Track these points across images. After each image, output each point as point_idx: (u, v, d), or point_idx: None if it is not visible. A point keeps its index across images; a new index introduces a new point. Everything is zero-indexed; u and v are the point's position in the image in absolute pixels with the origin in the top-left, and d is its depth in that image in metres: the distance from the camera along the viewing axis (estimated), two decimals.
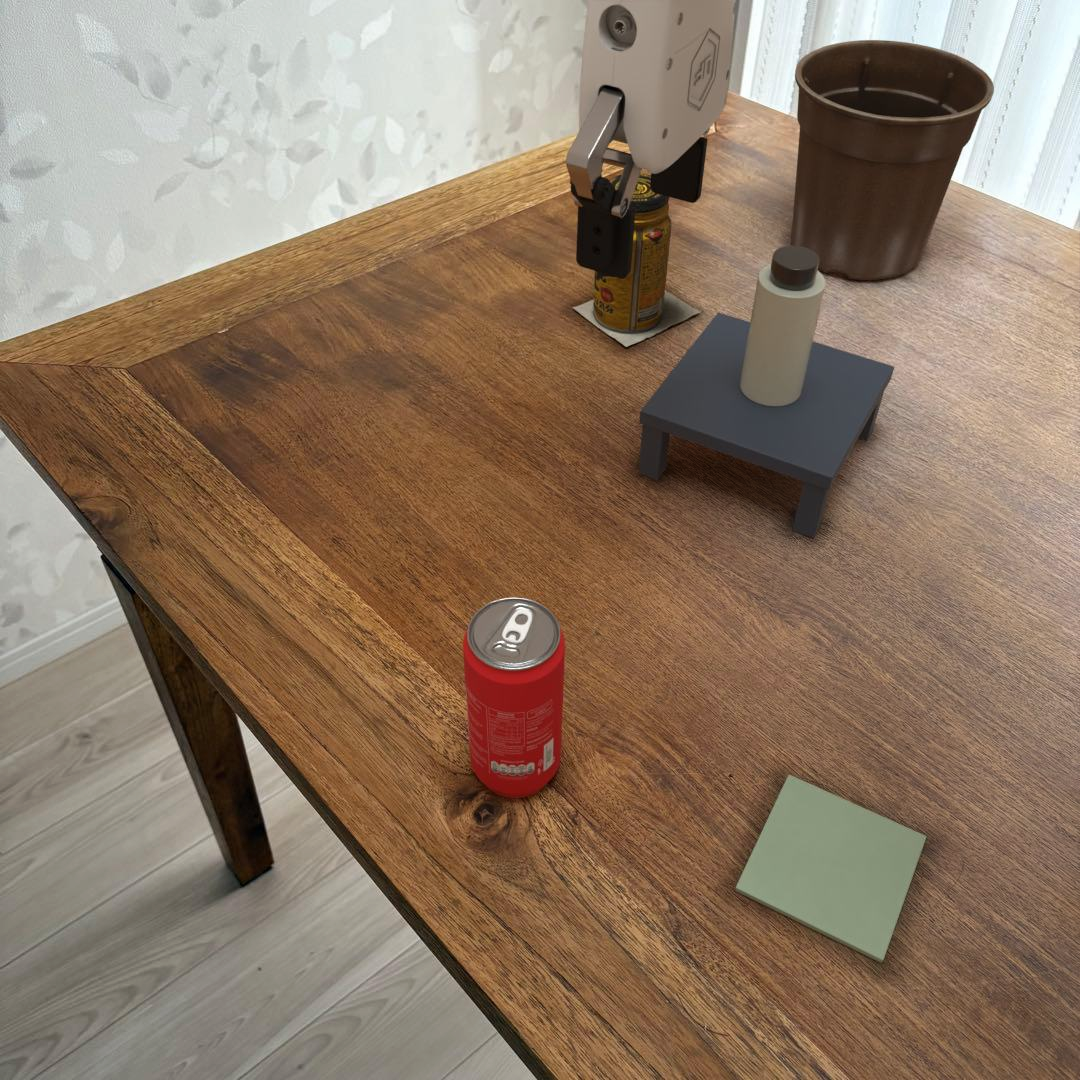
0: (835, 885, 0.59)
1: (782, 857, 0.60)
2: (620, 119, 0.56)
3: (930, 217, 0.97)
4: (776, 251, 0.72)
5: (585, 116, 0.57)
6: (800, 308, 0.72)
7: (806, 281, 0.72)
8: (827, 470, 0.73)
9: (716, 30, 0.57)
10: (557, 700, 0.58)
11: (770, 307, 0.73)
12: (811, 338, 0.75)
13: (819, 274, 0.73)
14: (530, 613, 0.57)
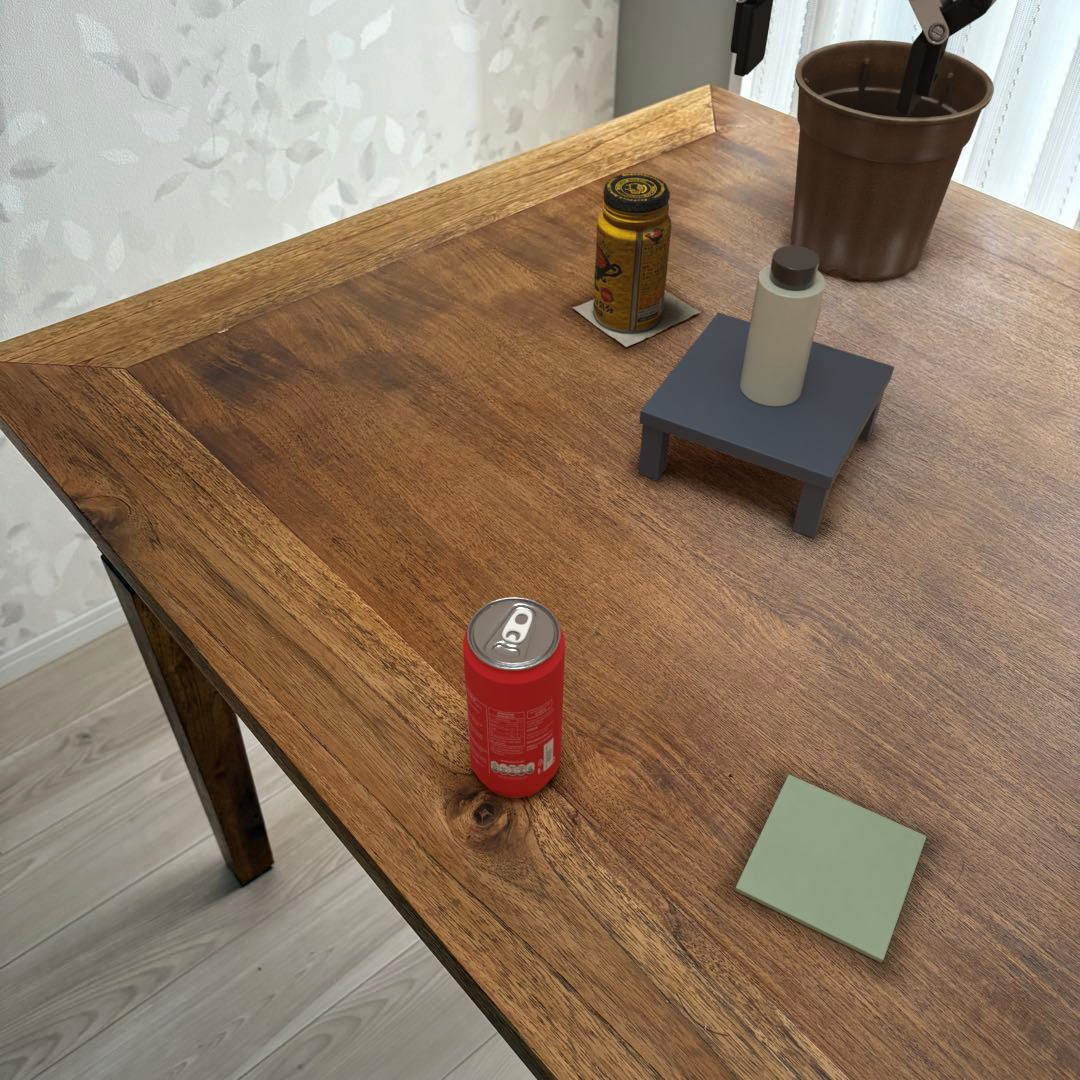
0: (835, 885, 0.59)
1: (782, 857, 0.60)
2: None
3: (930, 217, 0.97)
4: (776, 251, 0.72)
5: None
6: (800, 308, 0.72)
7: (806, 281, 0.72)
8: (827, 470, 0.73)
9: None
10: (557, 700, 0.58)
11: (770, 307, 0.73)
12: (811, 338, 0.75)
13: (819, 274, 0.73)
14: (530, 613, 0.57)
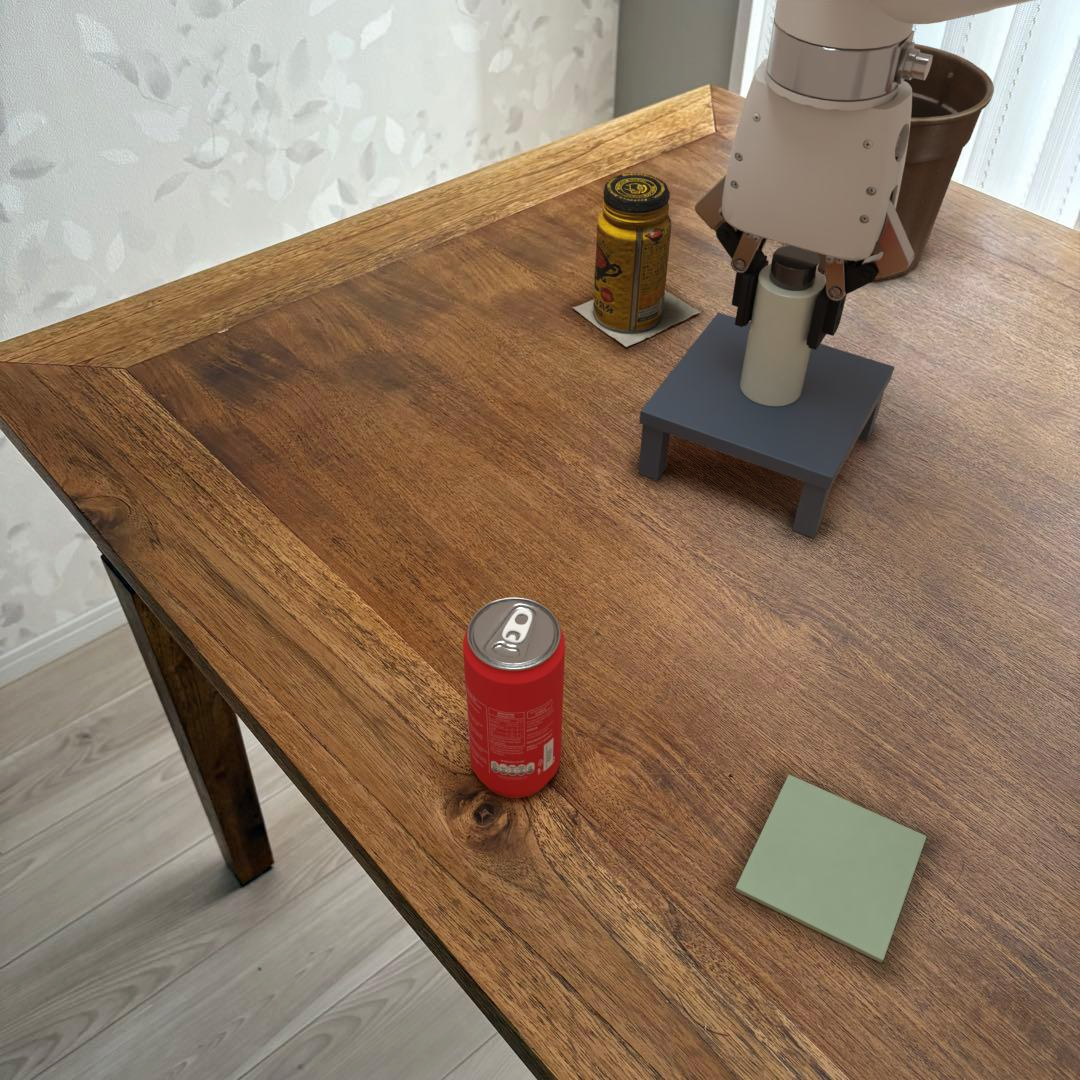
0: (835, 885, 0.59)
1: (782, 857, 0.60)
2: None
3: (930, 217, 0.97)
4: (776, 251, 0.72)
5: (880, 226, 0.66)
6: (800, 308, 0.72)
7: (806, 281, 0.72)
8: (827, 470, 0.73)
9: None
10: (557, 700, 0.58)
11: (770, 307, 0.73)
12: None
13: (819, 274, 0.73)
14: (530, 613, 0.57)
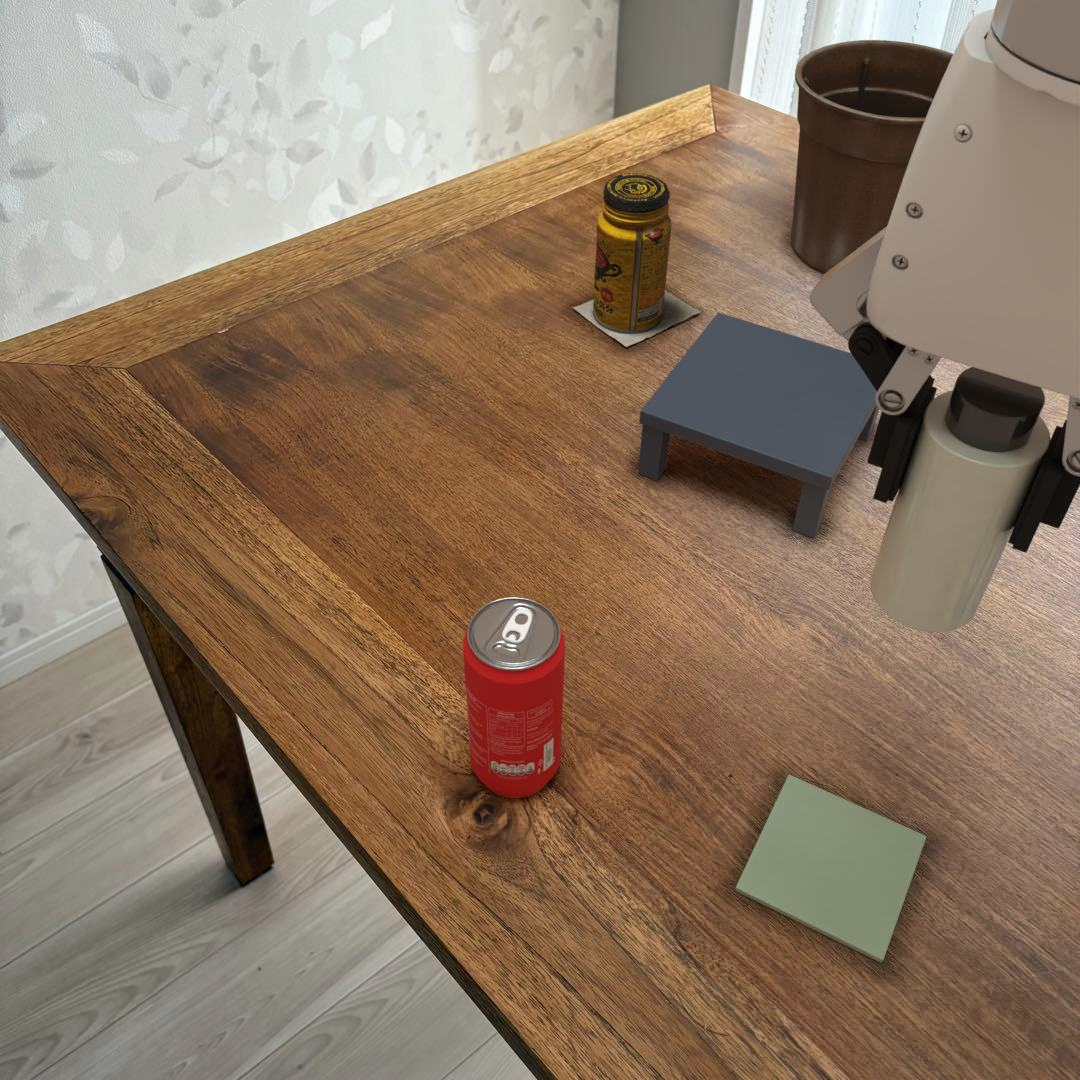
0: (835, 885, 0.59)
1: (782, 857, 0.60)
2: None
3: None
4: (961, 377, 0.39)
5: None
6: (1007, 483, 0.39)
7: (1021, 436, 0.38)
8: (827, 470, 0.73)
9: None
10: (557, 700, 0.58)
11: (949, 479, 0.39)
12: (1013, 526, 0.42)
13: None
14: (530, 613, 0.57)
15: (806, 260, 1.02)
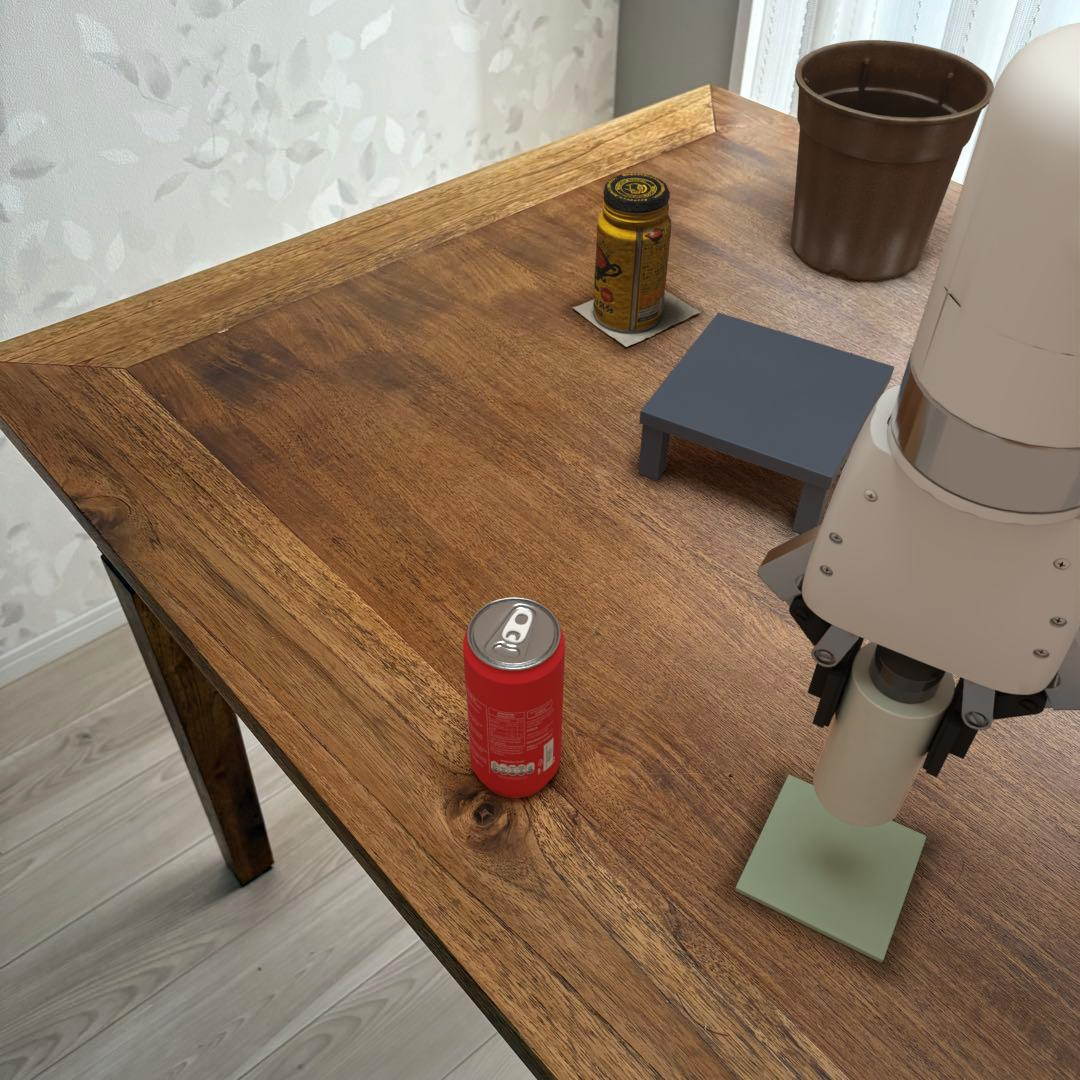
0: (835, 885, 0.59)
1: (782, 857, 0.60)
2: None
3: (930, 217, 0.97)
4: None
5: (1063, 659, 0.41)
6: (918, 729, 0.47)
7: (929, 692, 0.47)
8: (827, 470, 0.73)
9: None
10: (557, 700, 0.58)
11: (872, 722, 0.48)
12: (927, 751, 0.50)
13: None
14: (530, 613, 0.57)
15: (806, 260, 1.02)
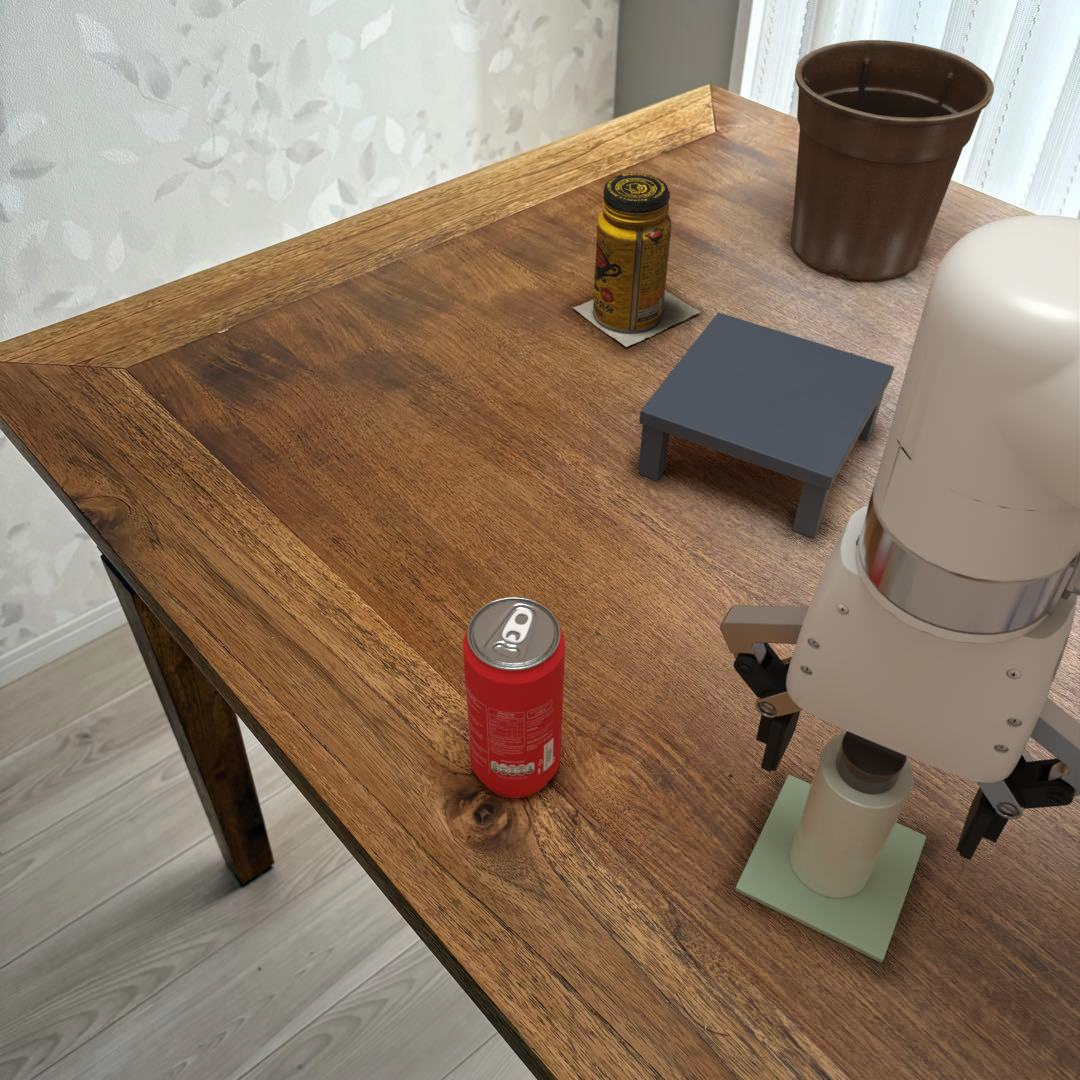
0: None
1: (782, 857, 0.60)
2: None
3: (930, 217, 0.97)
4: (846, 736, 0.53)
5: (1022, 752, 0.46)
6: (880, 816, 0.52)
7: (889, 784, 0.52)
8: (827, 470, 0.73)
9: None
10: (557, 700, 0.58)
11: (838, 810, 0.53)
12: (891, 832, 0.55)
13: None
14: (530, 613, 0.57)
15: (806, 260, 1.02)
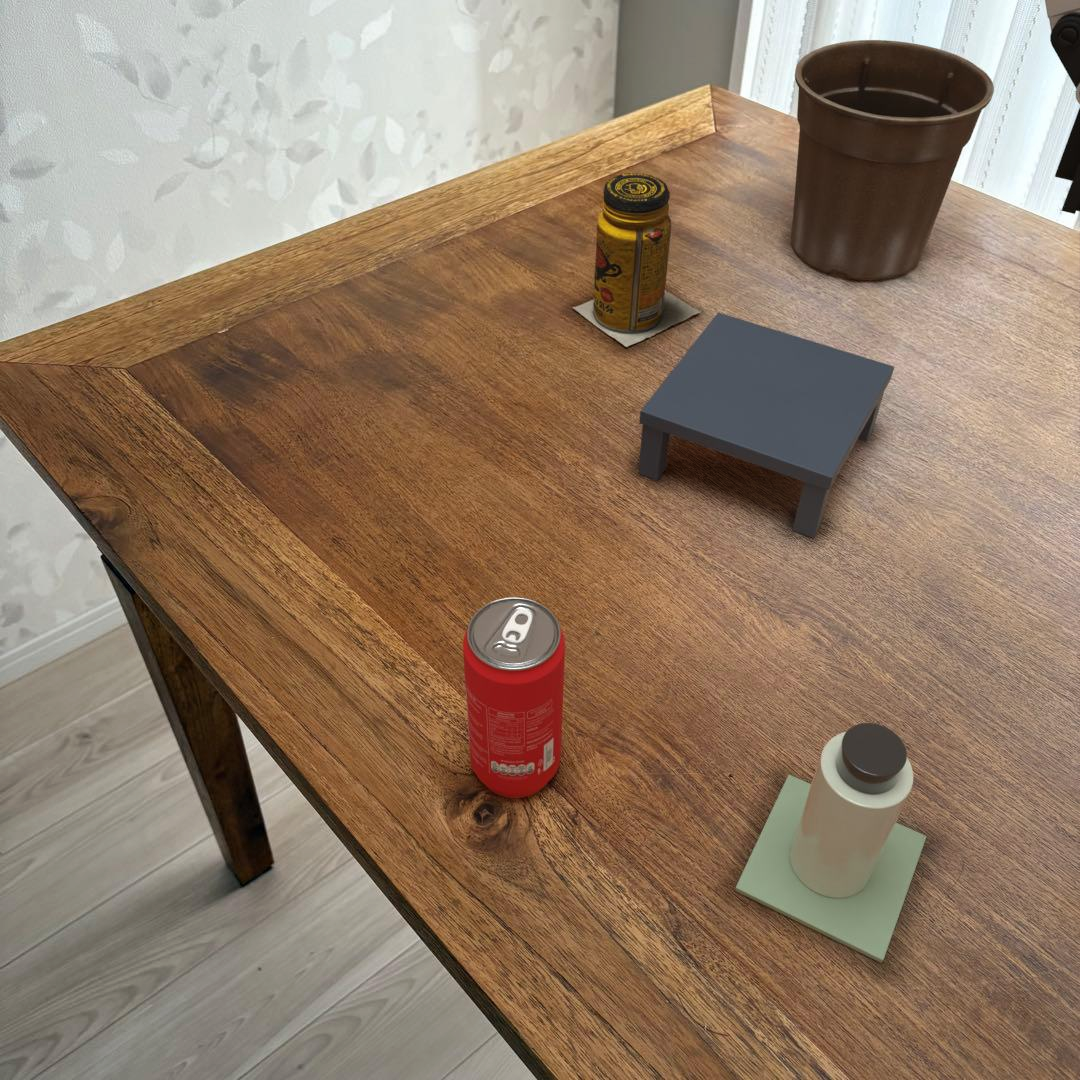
0: None
1: (782, 857, 0.60)
2: None
3: (930, 217, 0.97)
4: (846, 736, 0.53)
5: None
6: (880, 816, 0.52)
7: (889, 784, 0.52)
8: (827, 470, 0.73)
9: None
10: (557, 700, 0.58)
11: (838, 810, 0.53)
12: (891, 832, 0.55)
13: None
14: (530, 613, 0.57)
15: (806, 260, 1.02)
